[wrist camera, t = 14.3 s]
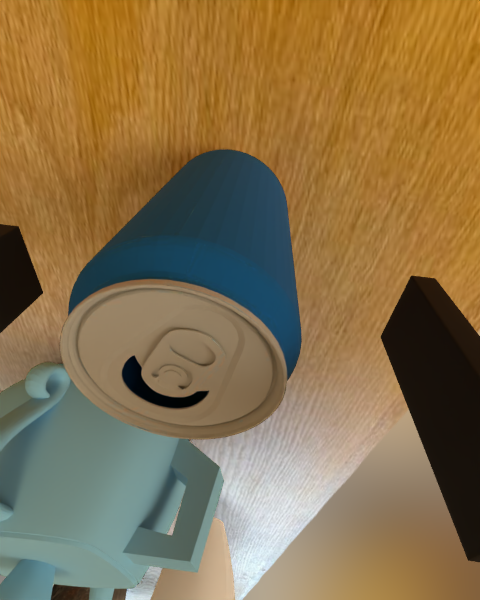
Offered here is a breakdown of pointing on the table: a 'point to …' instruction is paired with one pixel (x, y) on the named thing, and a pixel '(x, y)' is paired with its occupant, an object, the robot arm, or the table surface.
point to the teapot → (93, 494)
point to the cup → (201, 573)
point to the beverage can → (191, 306)
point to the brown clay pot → (80, 593)
